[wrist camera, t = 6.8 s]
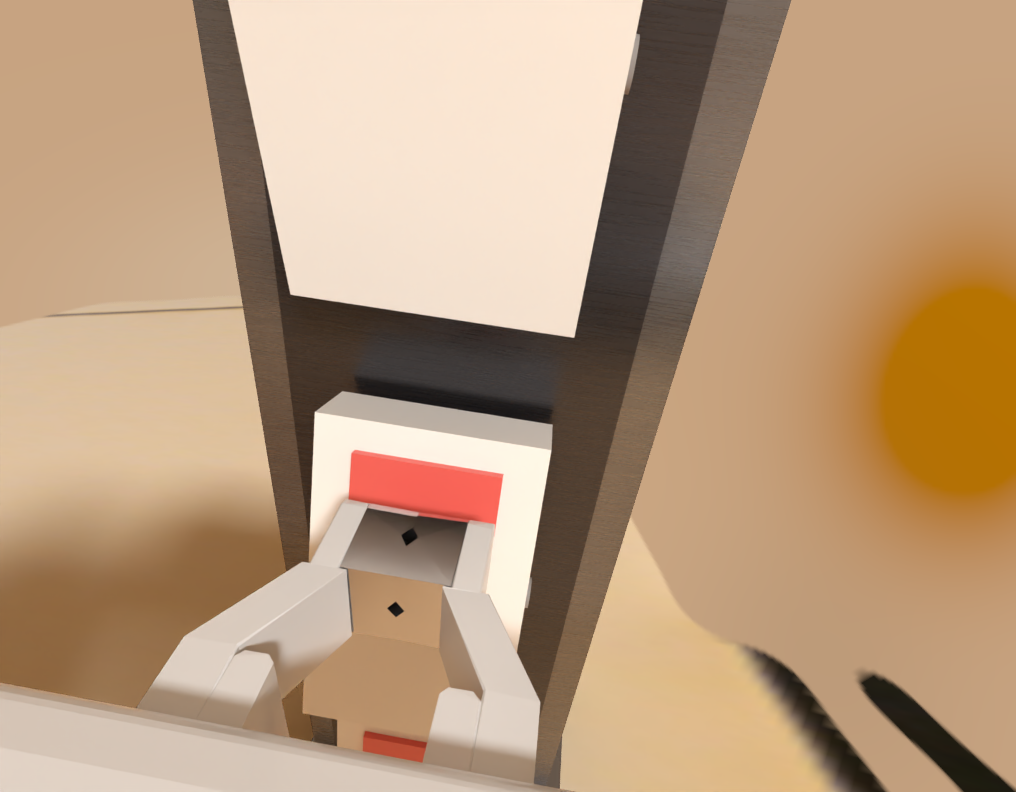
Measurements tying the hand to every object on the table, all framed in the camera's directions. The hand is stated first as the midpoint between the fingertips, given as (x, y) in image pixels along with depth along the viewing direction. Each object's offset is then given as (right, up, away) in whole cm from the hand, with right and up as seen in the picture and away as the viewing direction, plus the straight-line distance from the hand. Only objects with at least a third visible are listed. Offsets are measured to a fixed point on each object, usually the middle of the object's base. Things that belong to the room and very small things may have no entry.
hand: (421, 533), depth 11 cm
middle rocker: (-1, -5, +4) cm, 6 cm away
